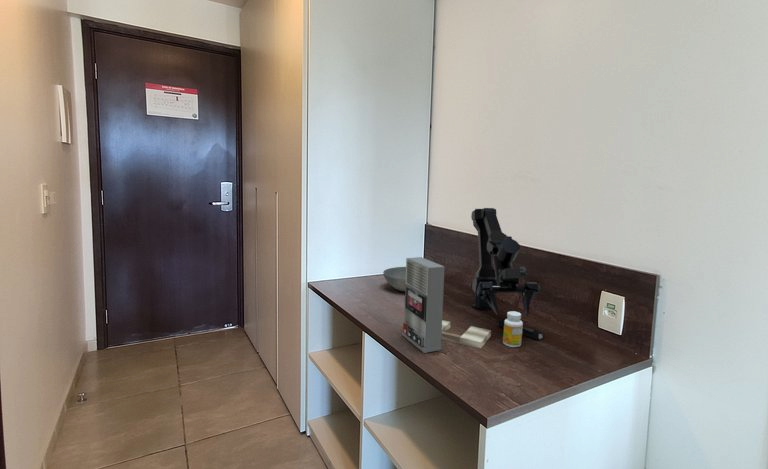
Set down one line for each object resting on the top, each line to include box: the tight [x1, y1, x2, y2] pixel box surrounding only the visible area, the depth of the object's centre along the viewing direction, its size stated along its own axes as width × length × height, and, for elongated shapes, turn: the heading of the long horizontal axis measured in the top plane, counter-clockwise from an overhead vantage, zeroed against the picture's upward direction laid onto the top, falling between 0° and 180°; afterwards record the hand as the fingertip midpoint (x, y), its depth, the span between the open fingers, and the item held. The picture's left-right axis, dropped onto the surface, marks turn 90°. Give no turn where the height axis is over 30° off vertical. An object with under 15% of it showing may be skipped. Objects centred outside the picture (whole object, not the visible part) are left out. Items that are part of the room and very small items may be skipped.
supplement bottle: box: [502, 310, 524, 348], centre depth 124 cm, size 5×5×10 cm
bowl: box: [382, 266, 406, 292], centre depth 181 cm, size 21×21×8 cm
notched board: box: [441, 319, 492, 349], centre depth 130 cm, size 11×17×2 cm, turn 61°
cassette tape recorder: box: [401, 256, 446, 354], centre depth 122 cm, size 14×6×25 cm, turn 24°
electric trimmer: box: [497, 318, 545, 342], centre depth 134 cm, size 4×16×3 cm, turn 41°
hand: (512, 314), depth 125 cm, fingers open, 9 cm apart
